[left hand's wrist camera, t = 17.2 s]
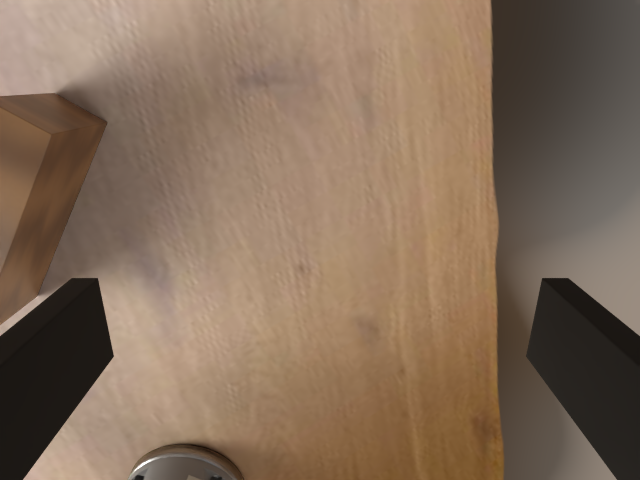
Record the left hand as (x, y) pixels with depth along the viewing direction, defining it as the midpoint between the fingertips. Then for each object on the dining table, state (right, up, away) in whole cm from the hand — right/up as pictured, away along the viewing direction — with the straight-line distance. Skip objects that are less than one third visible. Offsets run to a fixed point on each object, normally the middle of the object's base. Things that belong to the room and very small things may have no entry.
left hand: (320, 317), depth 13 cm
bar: (-28, +6, +30) cm, 41 cm away
